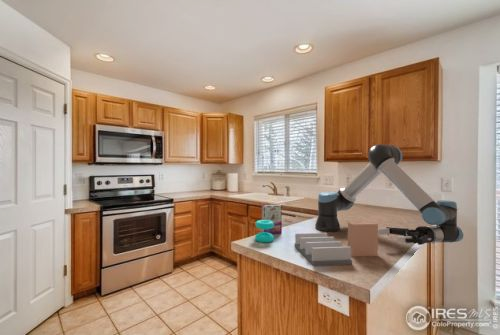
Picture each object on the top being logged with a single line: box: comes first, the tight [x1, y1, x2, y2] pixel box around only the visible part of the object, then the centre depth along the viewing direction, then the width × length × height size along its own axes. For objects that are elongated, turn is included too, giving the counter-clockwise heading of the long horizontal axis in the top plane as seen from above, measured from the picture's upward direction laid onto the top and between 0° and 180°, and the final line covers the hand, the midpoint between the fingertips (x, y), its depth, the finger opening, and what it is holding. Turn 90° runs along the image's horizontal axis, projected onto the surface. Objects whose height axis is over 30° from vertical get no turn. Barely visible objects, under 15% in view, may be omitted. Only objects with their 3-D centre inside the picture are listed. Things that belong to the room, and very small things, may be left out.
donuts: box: [254, 219, 275, 243], centre depth 126 cm, size 10×10×10 cm
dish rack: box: [294, 232, 353, 267], centre depth 106 cm, size 24×16×6 cm, turn 7°
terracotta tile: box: [347, 221, 379, 258], centre depth 107 cm, size 4×12×14 cm, turn 97°
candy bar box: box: [261, 204, 283, 235], centre depth 141 cm, size 11×5×16 cm, turn 105°
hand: (386, 235), depth 108 cm, fingers open, 13 cm apart
